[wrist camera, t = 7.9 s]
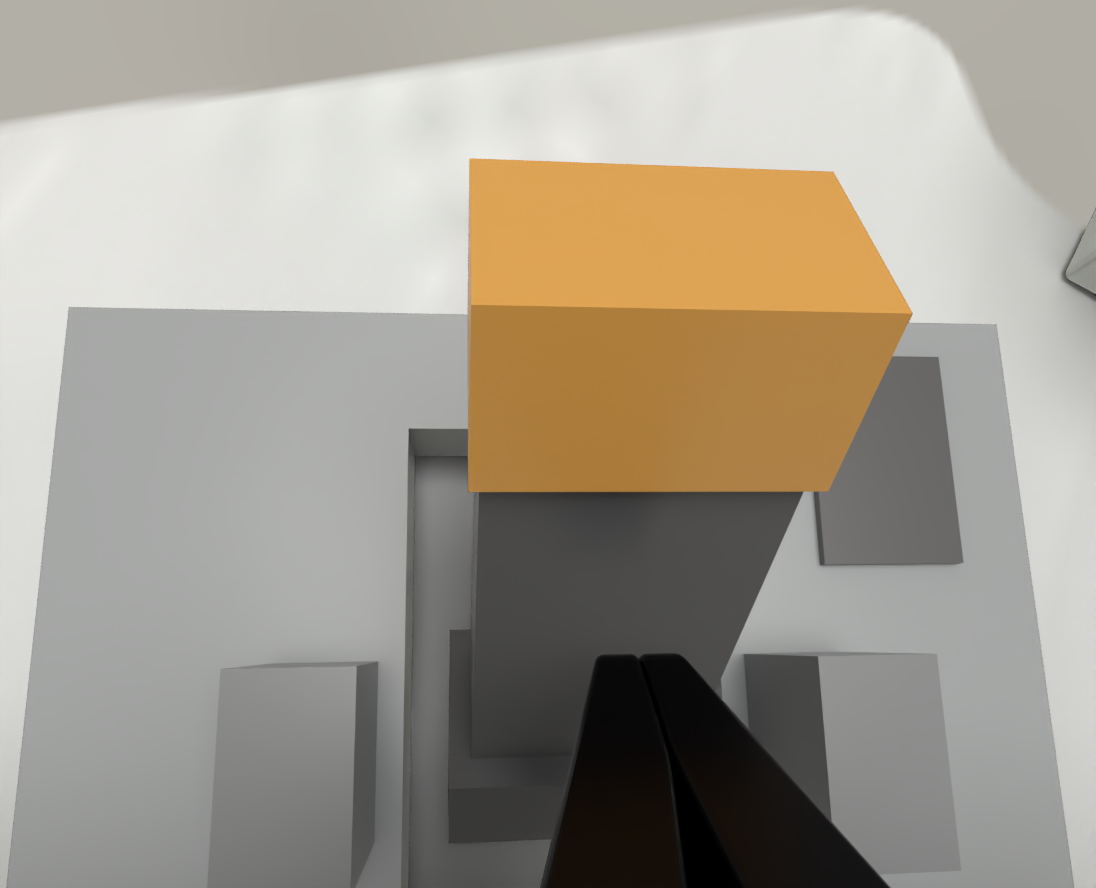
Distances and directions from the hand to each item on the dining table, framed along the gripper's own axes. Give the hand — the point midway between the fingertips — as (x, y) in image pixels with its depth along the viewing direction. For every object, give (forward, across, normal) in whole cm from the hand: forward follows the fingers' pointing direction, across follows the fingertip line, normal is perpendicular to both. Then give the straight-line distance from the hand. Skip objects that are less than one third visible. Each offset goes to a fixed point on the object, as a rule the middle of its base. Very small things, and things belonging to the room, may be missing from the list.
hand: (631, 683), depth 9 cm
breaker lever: (+3, 0, +4) cm, 5 cm away
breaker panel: (+5, 0, +6) cm, 8 cm away
